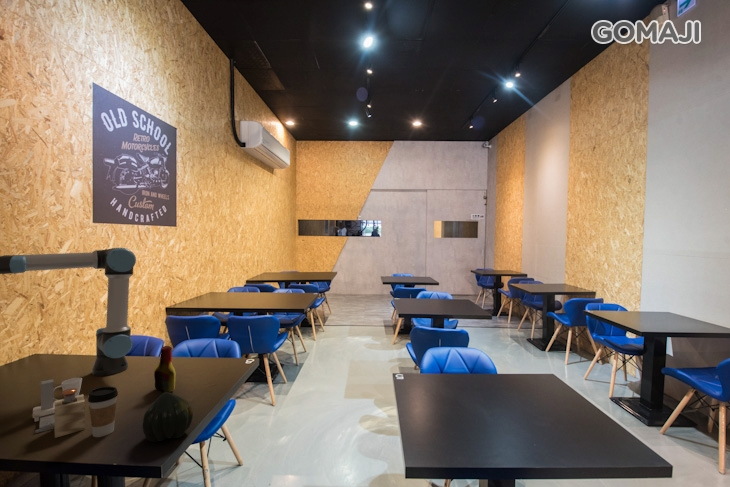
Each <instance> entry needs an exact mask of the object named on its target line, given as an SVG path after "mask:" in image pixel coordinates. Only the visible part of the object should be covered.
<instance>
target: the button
mask: <svg viewBox="0 0 730 487" xmlns="http://www.w3.org/2000/svg"><path fill="white" fill-rule="evenodd" d="M76 392H77V389H76V388H71V389H67V390H64V391H63V390H62V391H61V395H62V396H63V399H64V404H68V403H72V402H75V393H76Z"/></svg>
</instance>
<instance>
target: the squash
mask: <svg viewBox="0 0 730 487" xmlns="http://www.w3.org/2000/svg"><path fill="white" fill-rule="evenodd" d="M193 413H194V410H193V408H192V406H191V404H190V402H189V401H188V400H186V399H185V398H183V397H180V396H179V395H177V394H174V393H171V392H162V393H161V394H160V395H159V396H158V397H157V398H156V399H155V400H154V401H153V402H152V403H151V404H150V406H149V407H148V408H147V410H146V411H145V412H144V415H143V421H142V432H143V435H144V436H145V438H146V439H147V440H148V441H150V442H153V443H156V442H163V441H165V439H170V438H174V439H179V438H180V437H182V436H184V435H185V433H186V431H187V430H188V429H189V428H190V426H191V424H192V421H193V417H194V416H193V415H194V414H193Z"/></svg>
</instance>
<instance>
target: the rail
mask: <svg viewBox="0 0 730 487" xmlns="http://www.w3.org/2000/svg"><path fill="white" fill-rule="evenodd" d="M53 429H54V430H55V413H52V414H48V415H44V416H40V417H39V427H38V429H35V434H38V433H42V432H45V431H49V430H53Z"/></svg>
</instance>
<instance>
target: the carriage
mask: <svg viewBox="0 0 730 487" xmlns="http://www.w3.org/2000/svg"><path fill="white" fill-rule="evenodd" d="M53 389H54V378H53V379H48V380H43V381H42V380H41V381H40V405H38V406H35V407H33V409H32V419H34V423H35V422H40V416H44V415H48V414H52V413H55V400H54V398H55V396H54V392H55V390H53Z"/></svg>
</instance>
